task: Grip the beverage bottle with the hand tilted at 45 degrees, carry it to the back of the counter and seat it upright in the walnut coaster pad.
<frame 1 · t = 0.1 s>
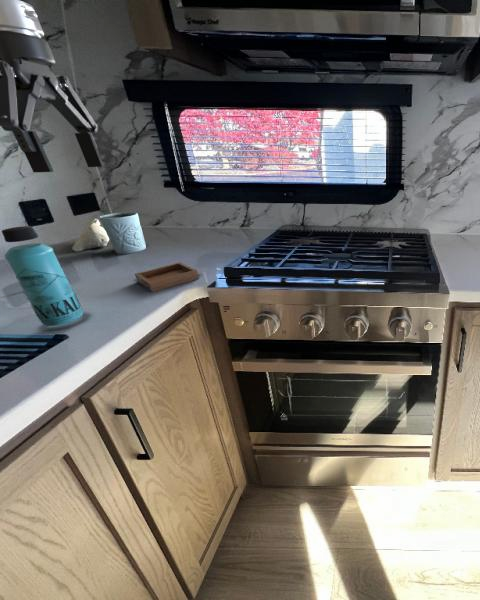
hand: (72, 169, 65), 29 cm above the worktop, tool pointing down, fingers open, 13 cm apart
beverage bottle: (68, 325, 68), on the worktop
light blue embossed planter: (132, 250, 115), on the worktop
pad: (168, 280, 88), on the worktop
cream animal figurine: (94, 247, 119), on the worktop
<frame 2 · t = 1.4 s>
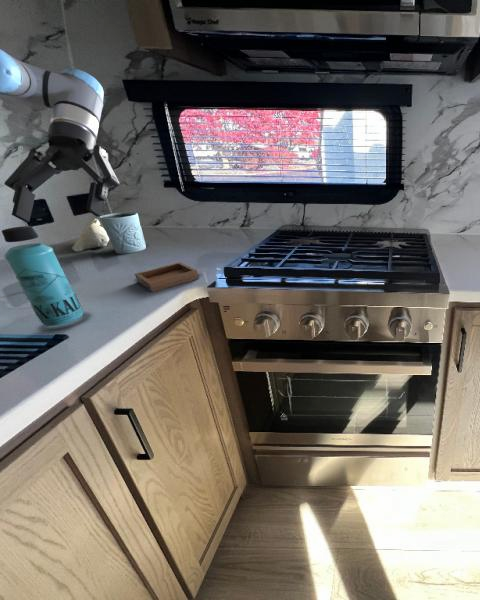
hand: (57, 215, 68), 20 cm above the worktop, tool tilted 45°, fingers open, 13 cm apart
nothing on the worktop moved.
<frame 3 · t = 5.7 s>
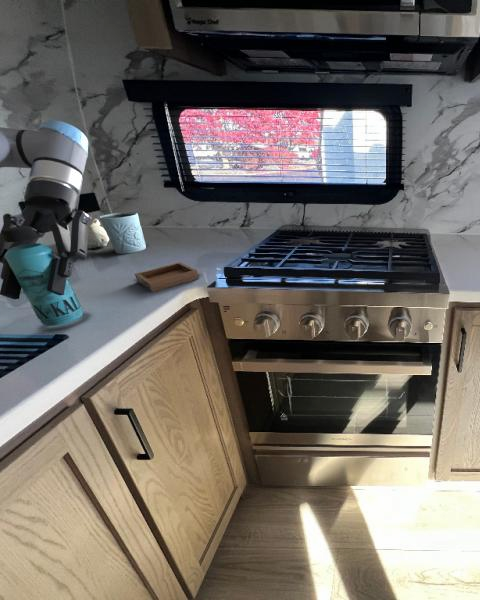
hand: (32, 294, 61), 8 cm above the worktop, tool tilted 45°, fingers closed on beverage bottle, 7 cm apart
beverage bottle: (68, 325, 68), on the worktop, touching gripper
everything else where it was.
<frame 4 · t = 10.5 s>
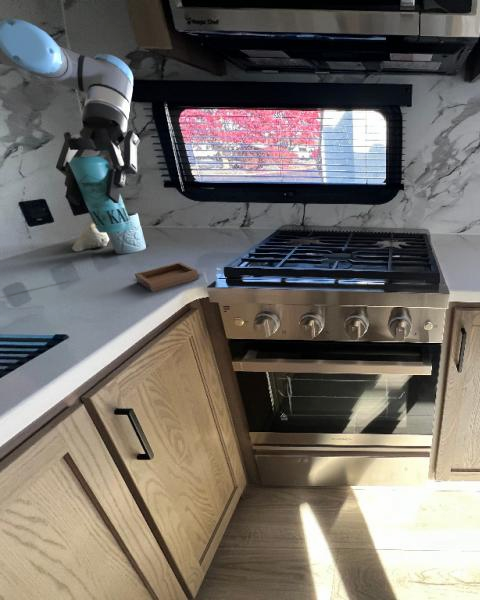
hand: (92, 200, 68), 23 cm above the worktop, tool tilted 45°, fingers closed on beverage bottle, 7 cm apart
beverage bottle: (119, 236, 75), point 14 cm above the worktop, touching gripper
everything else where it was.
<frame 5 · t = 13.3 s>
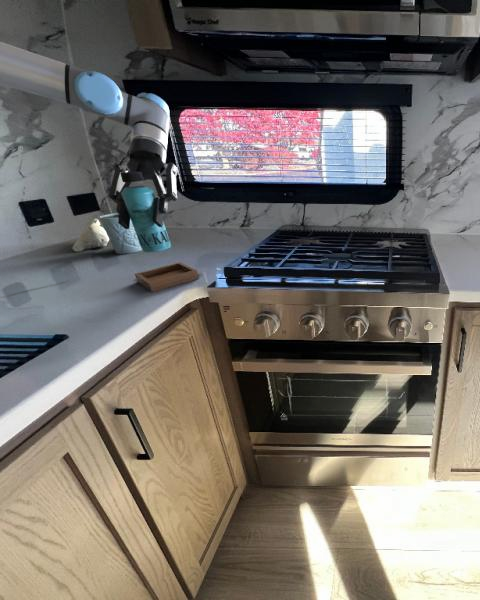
hand: (140, 224, 78), 16 cm above the worktop, tool tilted 45°, fingers closed on beverage bottle, 7 cm apart
beverage bottle: (160, 254, 85), point 7 cm above the worktop, touching gripper
everything else where it was.
when the fingers open (9 cm above the worktop, at t = 15.5 s): beverage bottle stays where it is, resting on pad.
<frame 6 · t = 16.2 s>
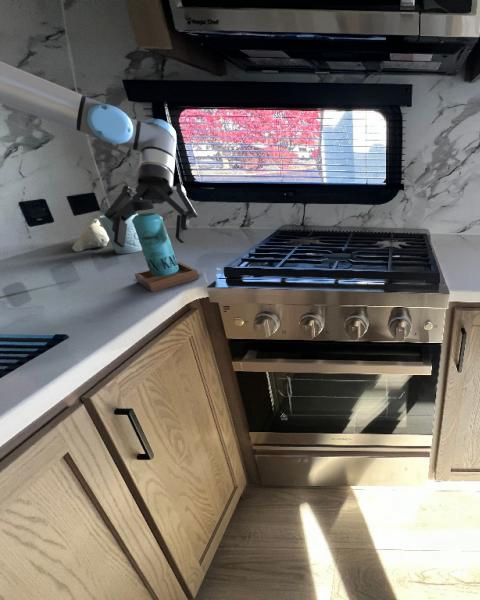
hand: (149, 242, 82), 11 cm above the worktop, tool tilted 45°, fingers open, 13 cm apart
beverage bottle: (168, 277, 88), point 1 cm above the worktop, touching pad
everything else where it was.
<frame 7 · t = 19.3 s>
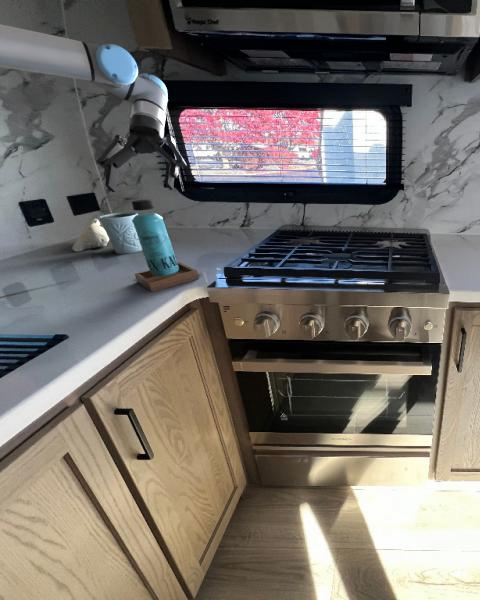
hand: (140, 187, 85), 23 cm above the worktop, tool tilted 45°, fingers open, 13 cm apart
nothing on the worktop moved.
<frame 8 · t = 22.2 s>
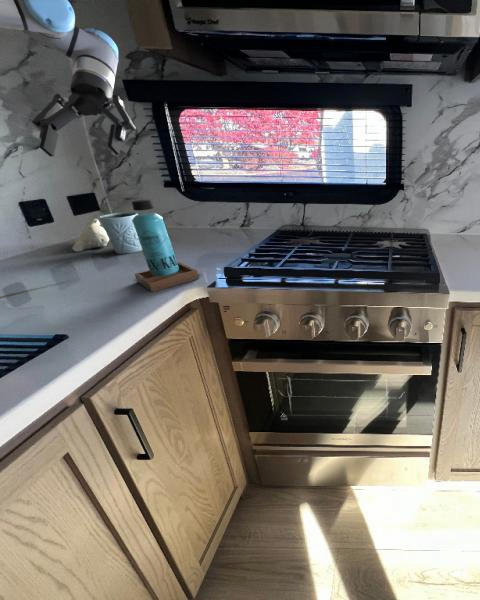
hand: (80, 151, 77), 32 cm above the worktop, tool tilted 45°, fingers open, 13 cm apart
nothing on the worktop moved.
at the end: beverage bottle 0.0 cm off-centre in the pad, point 0.6 cm above the pad's base; beverage bottle tilted 0°; the gripper is holding nothing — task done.
